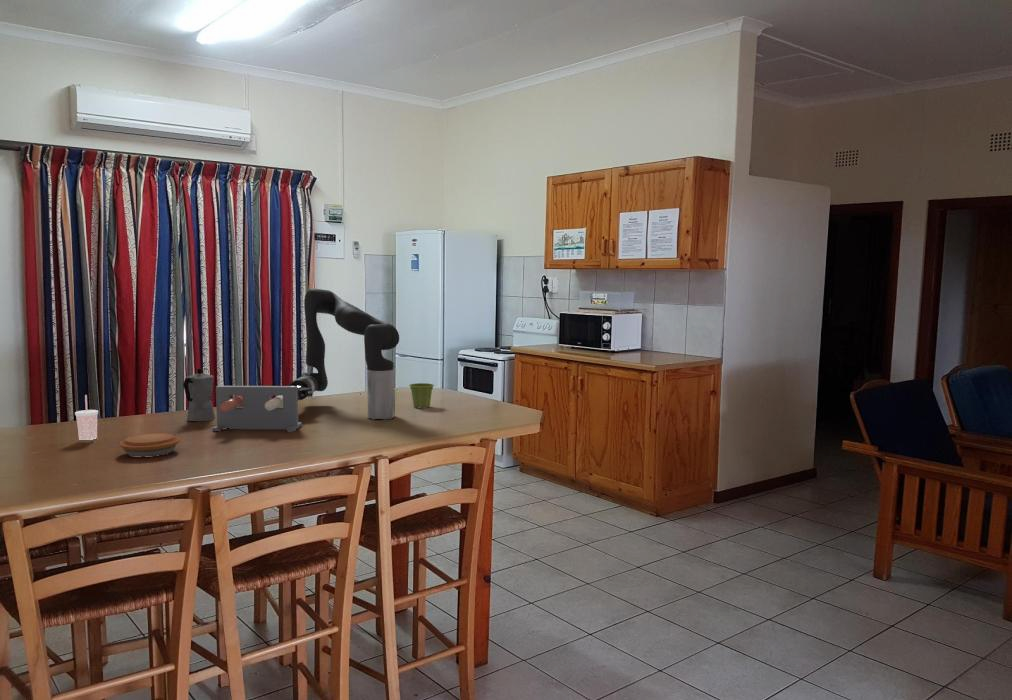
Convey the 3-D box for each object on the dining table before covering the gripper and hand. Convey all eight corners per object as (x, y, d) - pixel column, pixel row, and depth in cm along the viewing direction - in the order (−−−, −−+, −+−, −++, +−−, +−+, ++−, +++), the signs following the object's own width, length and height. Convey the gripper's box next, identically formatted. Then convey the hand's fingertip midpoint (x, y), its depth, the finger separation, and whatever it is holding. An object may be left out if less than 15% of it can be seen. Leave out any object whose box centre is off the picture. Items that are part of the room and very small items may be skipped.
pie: (109, 460, 200) (108, 442, 200) (134, 447, 216) (133, 430, 215) (168, 460, 201) (167, 442, 201) (188, 447, 217) (187, 430, 216)
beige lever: (291, 405, 249) (290, 391, 248) (277, 413, 234) (276, 398, 233) (276, 405, 249) (276, 391, 248) (261, 413, 234) (261, 398, 233)
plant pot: (409, 405, 288) (409, 383, 287) (433, 404, 289) (433, 382, 289) (409, 409, 279) (409, 386, 278) (434, 409, 280) (434, 386, 279)
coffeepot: (200, 415, 265) (198, 365, 263) (224, 416, 263) (222, 366, 261) (173, 423, 250) (171, 371, 248) (198, 425, 248) (196, 371, 246)
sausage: (249, 406, 246) (248, 392, 245) (232, 415, 231) (231, 399, 230) (234, 406, 246) (234, 392, 245) (217, 415, 231) (216, 399, 230)
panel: (301, 425, 247) (300, 384, 246) (293, 432, 237) (292, 388, 236) (224, 425, 247) (222, 384, 246) (212, 431, 237) (210, 388, 236)
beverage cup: (73, 443, 220) (70, 396, 218) (81, 439, 226) (78, 393, 224) (95, 442, 221) (92, 396, 219) (102, 438, 227) (100, 393, 226)
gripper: (283, 377, 270) (268, 384, 253) (319, 378, 270) (306, 384, 253) (284, 398, 271) (268, 406, 254) (320, 398, 271) (307, 406, 254)
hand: (287, 395), depth 253 cm, fingers closed
